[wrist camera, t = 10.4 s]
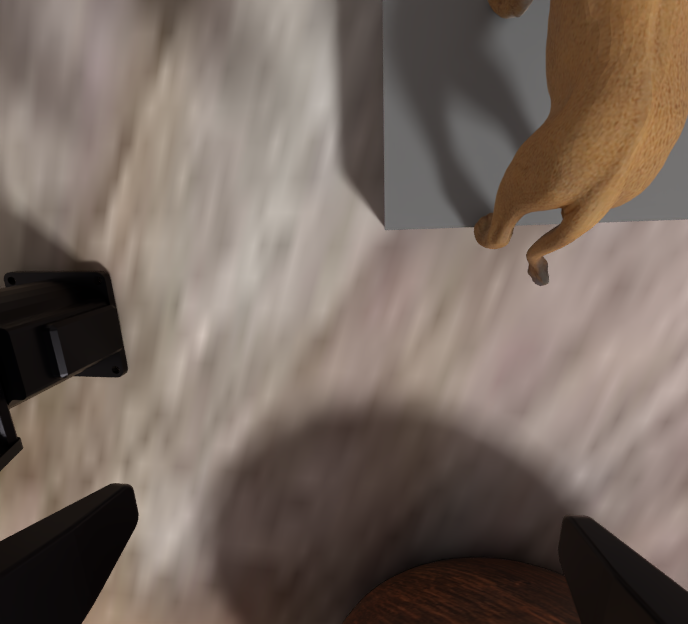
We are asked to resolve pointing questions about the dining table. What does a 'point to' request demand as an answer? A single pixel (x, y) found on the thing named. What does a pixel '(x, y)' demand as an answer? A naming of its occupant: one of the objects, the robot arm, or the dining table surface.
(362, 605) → the wooden bowl
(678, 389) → the dining table surface
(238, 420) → the dining table surface
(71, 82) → the dining table surface
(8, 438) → the robot arm
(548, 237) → the lion figurine
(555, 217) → the grey block
